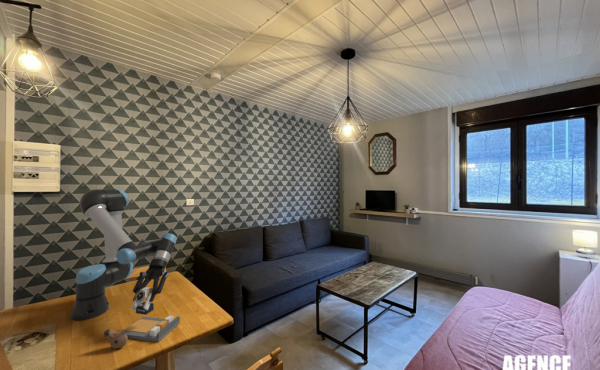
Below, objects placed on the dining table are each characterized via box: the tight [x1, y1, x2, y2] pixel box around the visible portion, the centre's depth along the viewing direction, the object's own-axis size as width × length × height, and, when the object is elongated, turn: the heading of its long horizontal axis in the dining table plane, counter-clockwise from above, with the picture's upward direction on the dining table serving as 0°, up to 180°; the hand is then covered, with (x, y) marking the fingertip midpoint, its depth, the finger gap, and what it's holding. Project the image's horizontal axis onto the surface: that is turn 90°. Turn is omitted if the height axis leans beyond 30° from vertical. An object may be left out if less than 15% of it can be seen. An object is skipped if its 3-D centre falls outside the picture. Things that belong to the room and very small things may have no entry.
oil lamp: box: [103, 328, 129, 349], centre depth 100 cm, size 9×4×8 cm, turn 100°
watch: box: [134, 286, 155, 316], centre depth 113 cm, size 6×8×11 cm
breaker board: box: [122, 315, 181, 343], centre depth 112 cm, size 20×14×4 cm
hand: (139, 309), depth 109 cm, fingers closed on watch, 5 cm apart
